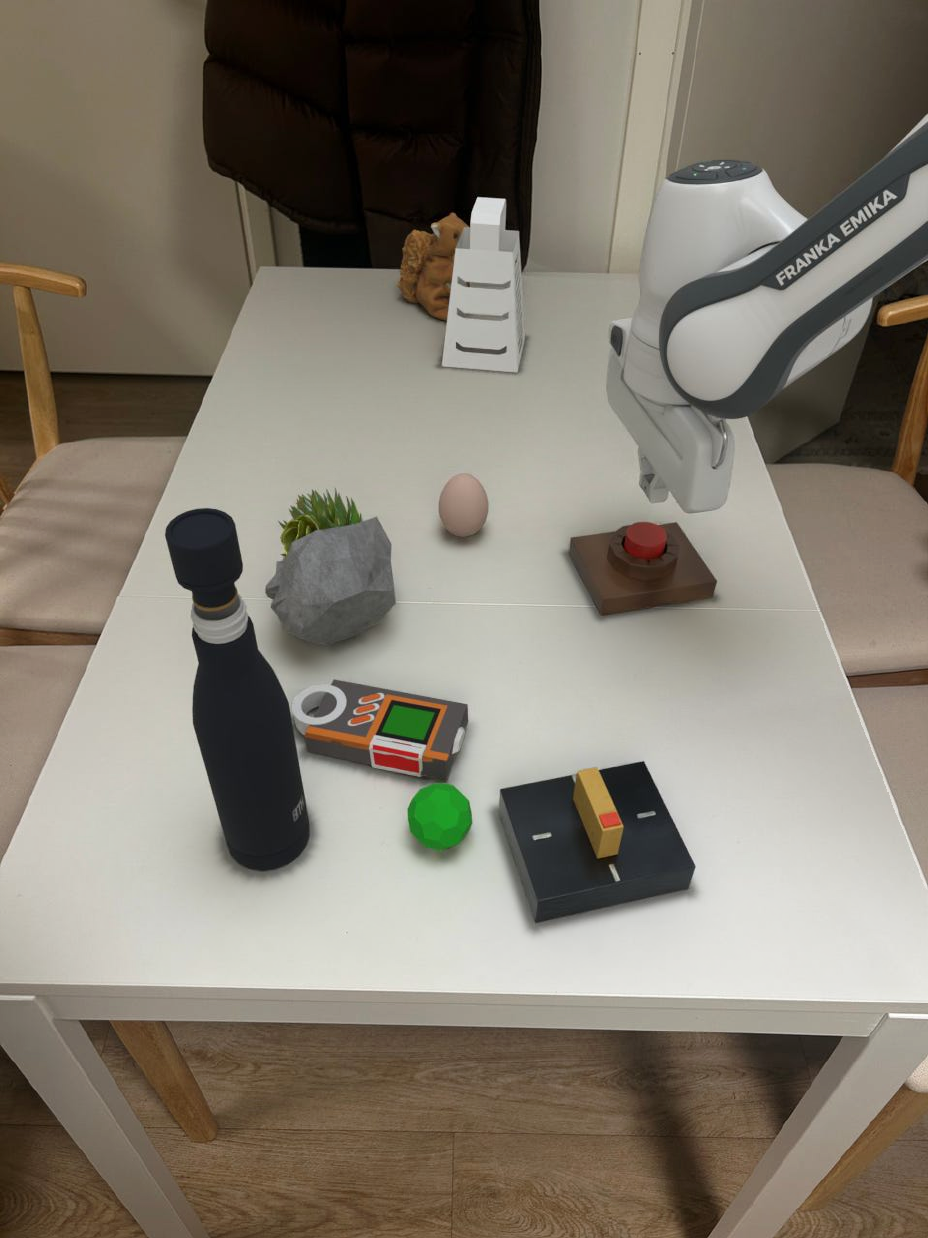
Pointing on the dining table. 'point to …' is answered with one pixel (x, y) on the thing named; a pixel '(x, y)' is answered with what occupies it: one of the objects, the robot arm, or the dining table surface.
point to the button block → (640, 571)
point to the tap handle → (597, 812)
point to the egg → (463, 505)
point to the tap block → (563, 854)
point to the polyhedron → (439, 816)
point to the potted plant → (331, 571)
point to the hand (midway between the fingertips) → (652, 494)
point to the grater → (486, 292)
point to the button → (645, 540)
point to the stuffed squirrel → (431, 265)
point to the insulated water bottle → (238, 701)
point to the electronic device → (382, 727)
